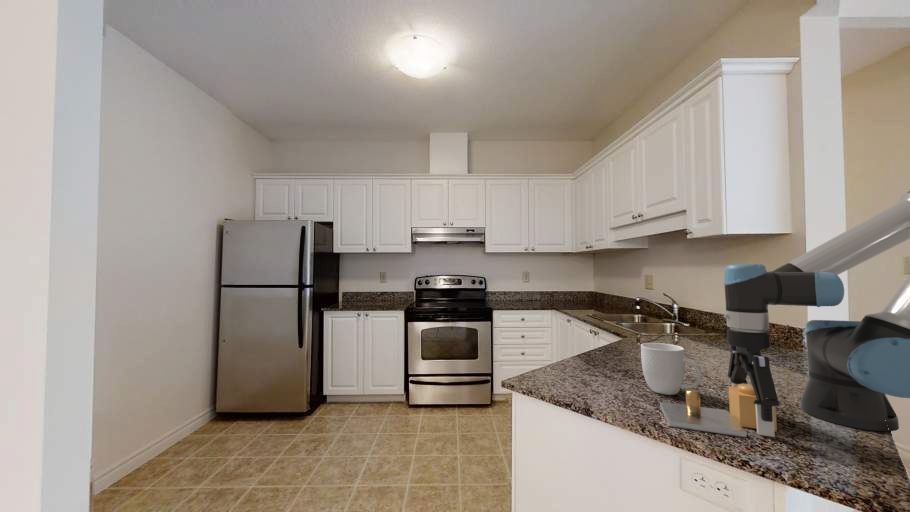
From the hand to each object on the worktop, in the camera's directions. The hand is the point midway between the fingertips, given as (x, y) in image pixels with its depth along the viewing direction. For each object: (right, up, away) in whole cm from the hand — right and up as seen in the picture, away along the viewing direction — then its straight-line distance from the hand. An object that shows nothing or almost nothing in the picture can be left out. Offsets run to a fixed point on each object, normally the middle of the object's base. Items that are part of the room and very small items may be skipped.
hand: (752, 422), depth 77 cm
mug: (-7, -1, +20) cm, 21 cm away
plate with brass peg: (-11, 0, +1) cm, 11 cm away
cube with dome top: (0, 0, 0) cm, 0 cm away
